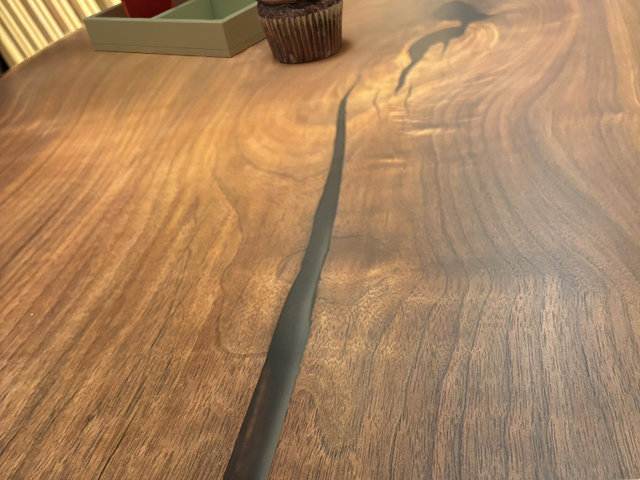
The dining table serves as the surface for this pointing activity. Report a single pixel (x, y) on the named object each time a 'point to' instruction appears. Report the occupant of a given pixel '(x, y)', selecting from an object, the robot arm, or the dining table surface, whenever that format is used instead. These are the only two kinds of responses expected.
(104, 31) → the holder
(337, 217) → the dining table surface
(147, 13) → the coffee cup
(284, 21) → the cupcake
